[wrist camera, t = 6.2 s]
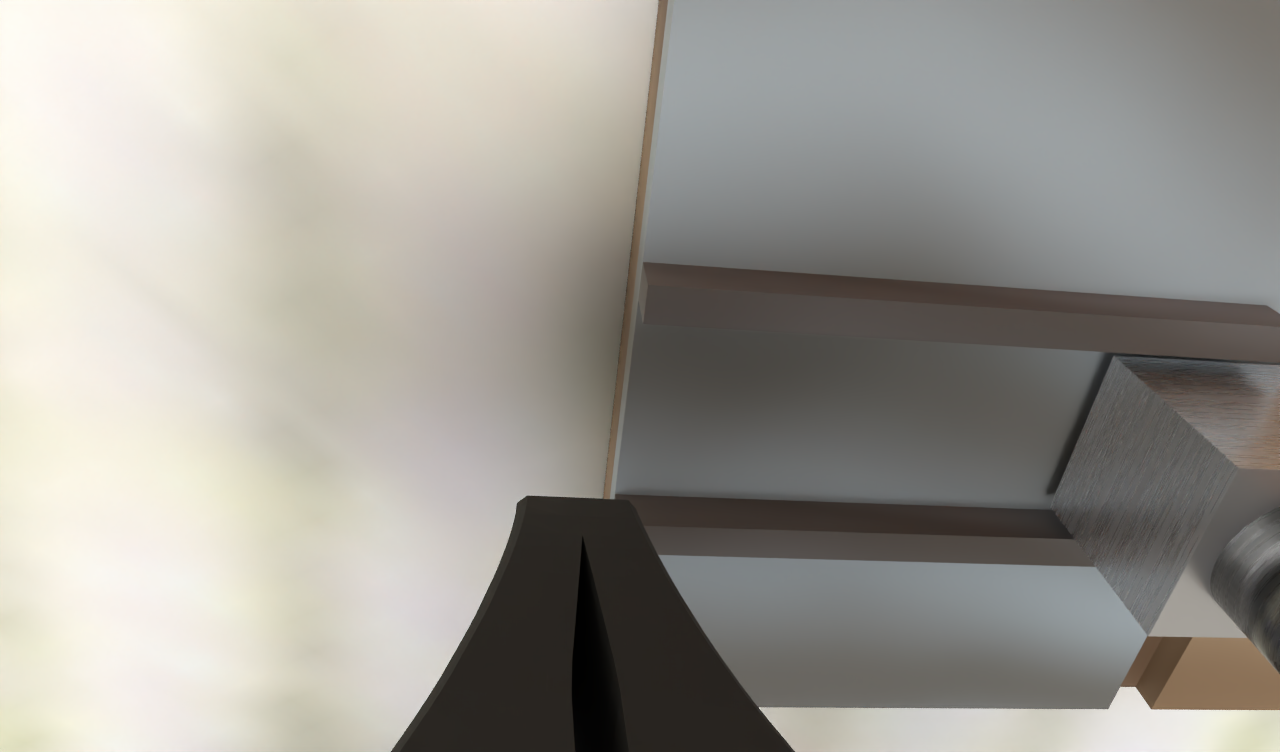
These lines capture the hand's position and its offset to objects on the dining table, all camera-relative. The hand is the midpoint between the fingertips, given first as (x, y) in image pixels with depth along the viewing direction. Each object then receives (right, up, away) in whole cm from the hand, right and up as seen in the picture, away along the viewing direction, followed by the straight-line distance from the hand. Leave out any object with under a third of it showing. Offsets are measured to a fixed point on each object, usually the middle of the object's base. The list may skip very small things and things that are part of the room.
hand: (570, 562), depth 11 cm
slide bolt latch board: (+11, +2, +6) cm, 13 cm away
